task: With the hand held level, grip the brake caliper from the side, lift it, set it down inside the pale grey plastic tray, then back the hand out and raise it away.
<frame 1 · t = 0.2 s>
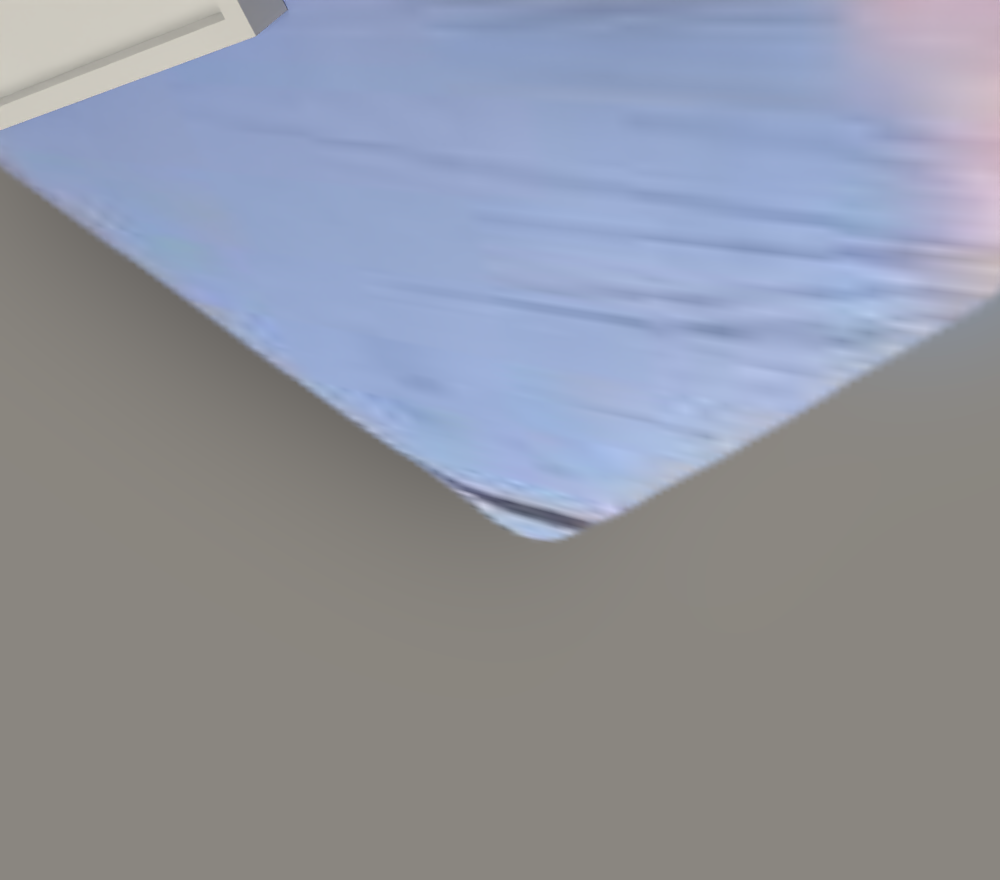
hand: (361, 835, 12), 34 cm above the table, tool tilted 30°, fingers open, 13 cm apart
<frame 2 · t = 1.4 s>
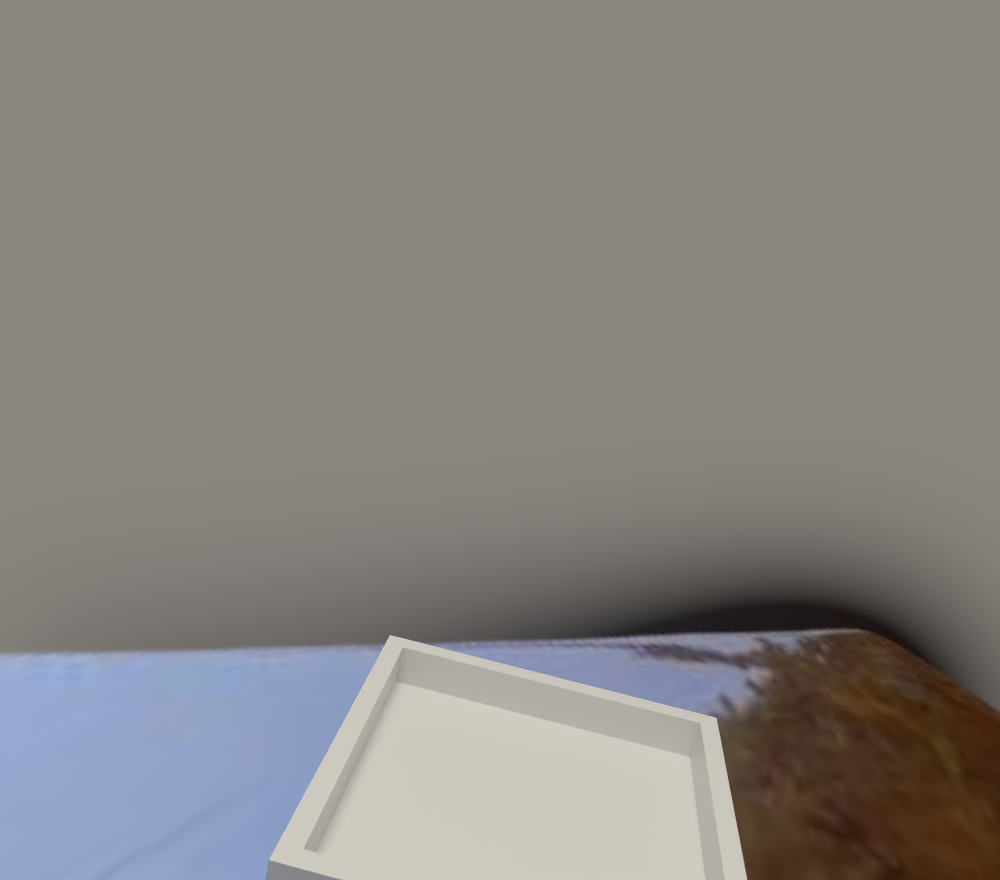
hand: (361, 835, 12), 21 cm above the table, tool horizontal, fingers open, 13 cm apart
tray: (523, 828, 44), on the table
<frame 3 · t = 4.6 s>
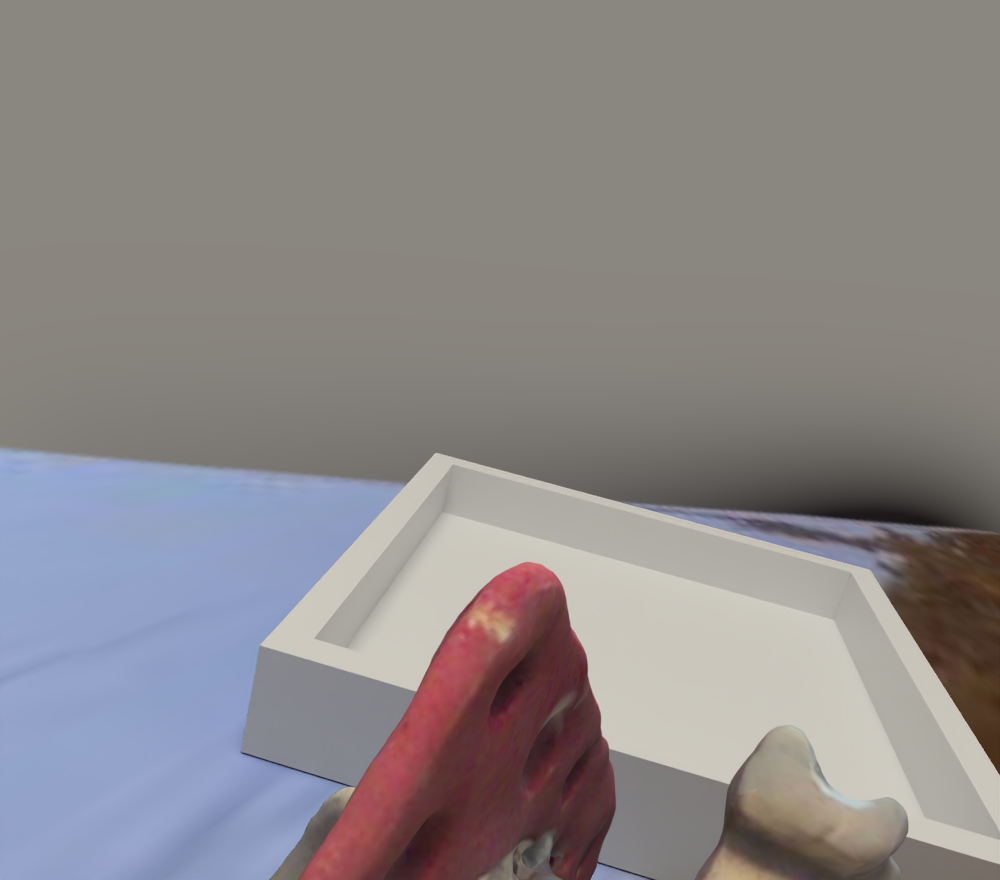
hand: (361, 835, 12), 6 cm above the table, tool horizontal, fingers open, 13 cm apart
tray: (624, 676, 31), on the table
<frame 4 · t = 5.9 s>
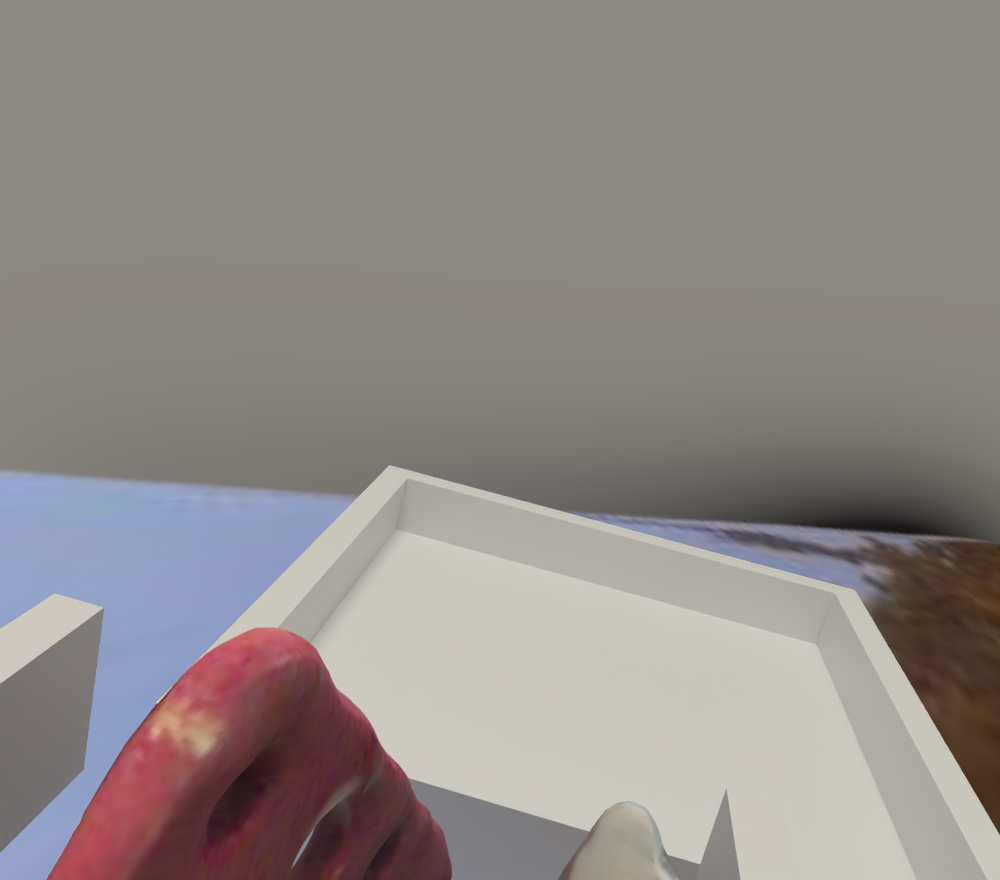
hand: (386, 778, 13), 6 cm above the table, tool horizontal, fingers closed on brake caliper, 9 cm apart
tray: (586, 715, 28), on the table
when the fingers open (9 cm above the table, at t = 11.7 s): brake caliper drops 1 cm, resting on tray.
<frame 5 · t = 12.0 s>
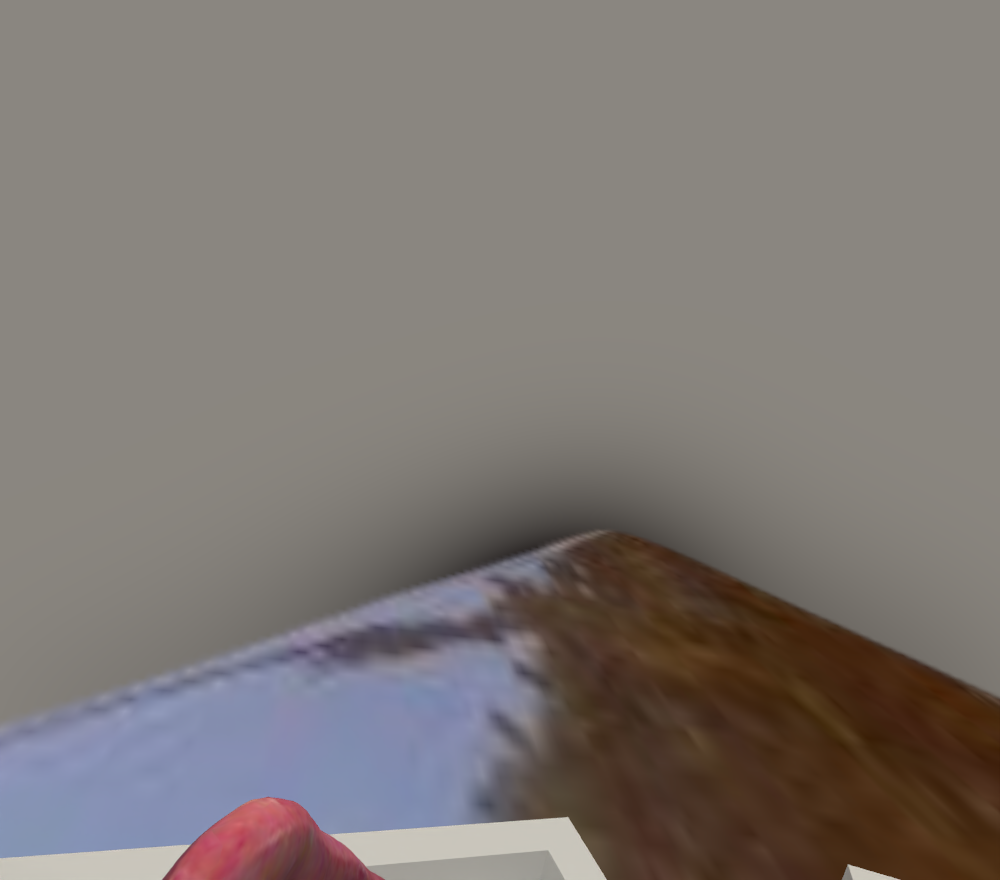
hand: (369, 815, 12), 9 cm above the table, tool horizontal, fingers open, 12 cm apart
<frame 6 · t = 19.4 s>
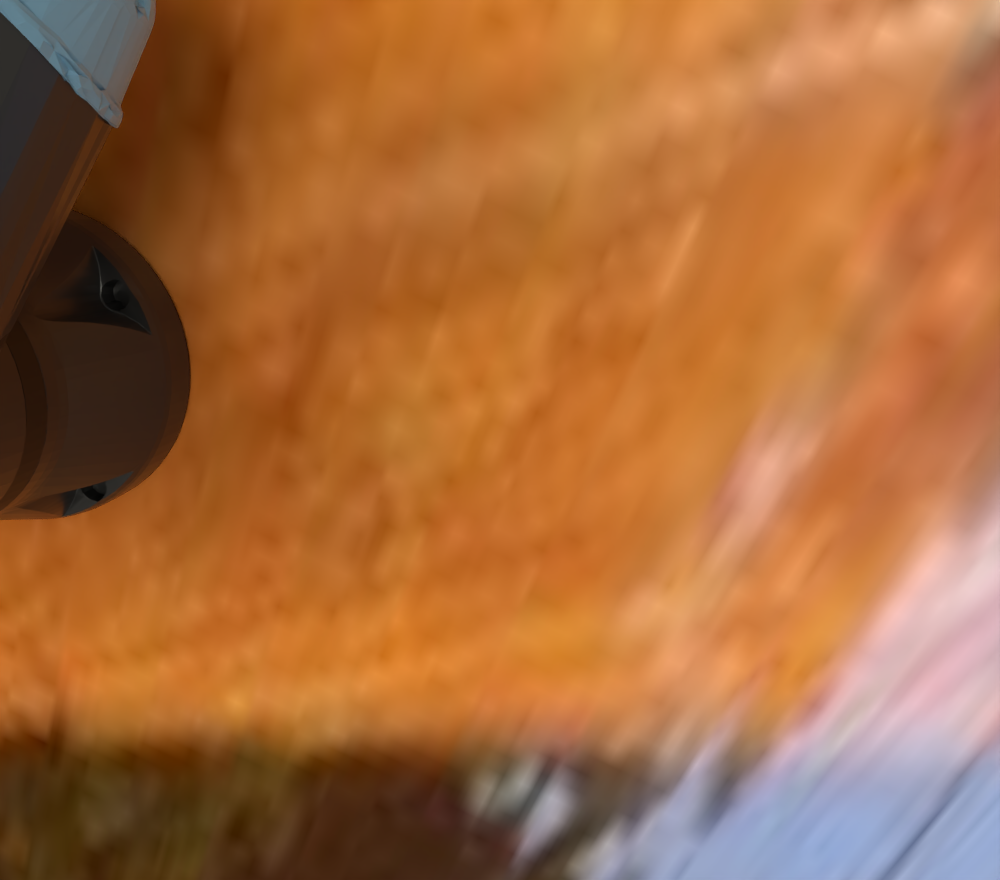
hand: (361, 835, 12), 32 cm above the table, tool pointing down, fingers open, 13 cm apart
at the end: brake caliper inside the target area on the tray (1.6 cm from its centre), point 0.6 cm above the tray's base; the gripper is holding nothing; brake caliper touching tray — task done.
